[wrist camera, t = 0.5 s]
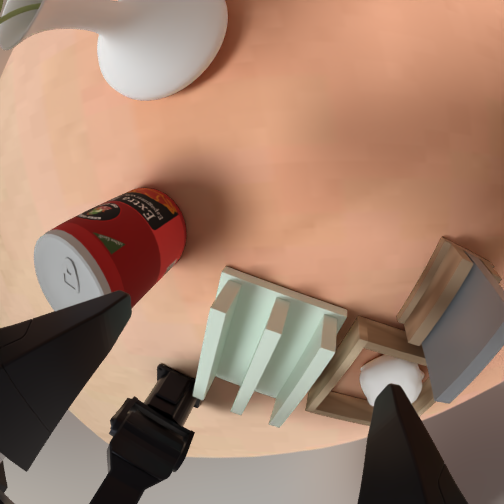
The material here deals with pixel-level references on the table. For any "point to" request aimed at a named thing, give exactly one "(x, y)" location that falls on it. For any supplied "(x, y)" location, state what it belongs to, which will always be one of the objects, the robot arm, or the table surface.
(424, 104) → the table surface
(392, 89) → the table surface
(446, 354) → the plate
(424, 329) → the plate stand
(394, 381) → the garlic
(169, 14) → the flower in vase
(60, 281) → the canned food
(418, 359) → the garlic trivet frame
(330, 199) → the table surface
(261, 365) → the dish rack
